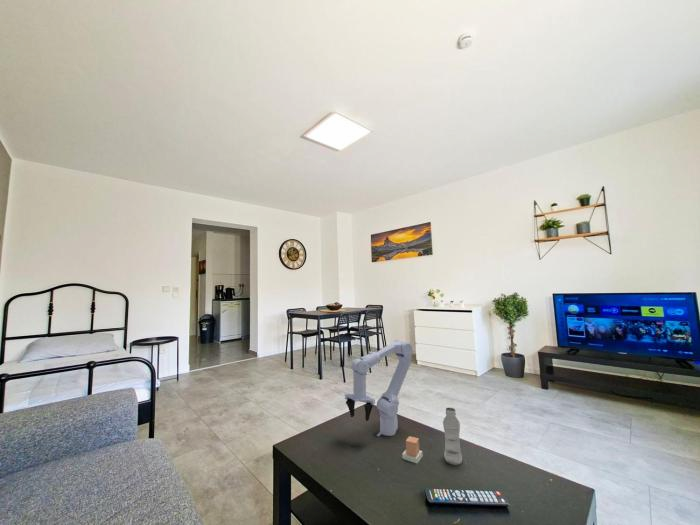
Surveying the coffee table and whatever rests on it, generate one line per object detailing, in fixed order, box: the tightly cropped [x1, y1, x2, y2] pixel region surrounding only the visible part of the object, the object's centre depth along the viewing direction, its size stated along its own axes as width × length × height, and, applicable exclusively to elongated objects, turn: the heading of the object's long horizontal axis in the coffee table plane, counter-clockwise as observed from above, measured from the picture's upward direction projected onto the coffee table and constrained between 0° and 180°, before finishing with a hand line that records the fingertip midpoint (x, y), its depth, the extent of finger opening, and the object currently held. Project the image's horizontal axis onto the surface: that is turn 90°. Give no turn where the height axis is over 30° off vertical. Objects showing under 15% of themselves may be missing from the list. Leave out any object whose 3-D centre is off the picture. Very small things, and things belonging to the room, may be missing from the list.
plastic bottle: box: [442, 407, 463, 466], centre depth 109 cm, size 6×7×20 cm
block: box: [405, 435, 420, 457], centre depth 110 cm, size 4×4×5 cm
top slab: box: [402, 449, 424, 464], centre depth 110 cm, size 6×6×2 cm
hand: (359, 418), depth 125 cm, fingers open, 7 cm apart
